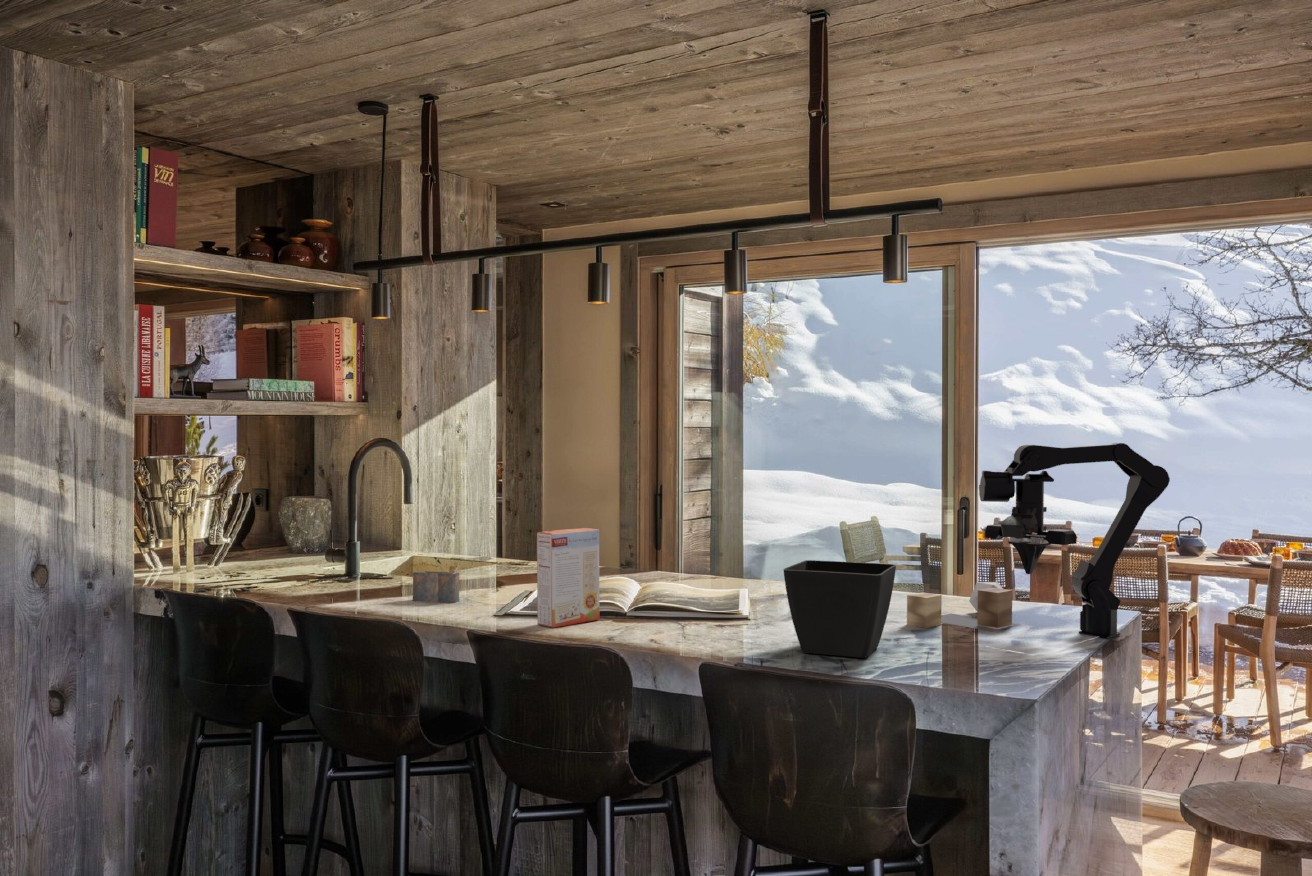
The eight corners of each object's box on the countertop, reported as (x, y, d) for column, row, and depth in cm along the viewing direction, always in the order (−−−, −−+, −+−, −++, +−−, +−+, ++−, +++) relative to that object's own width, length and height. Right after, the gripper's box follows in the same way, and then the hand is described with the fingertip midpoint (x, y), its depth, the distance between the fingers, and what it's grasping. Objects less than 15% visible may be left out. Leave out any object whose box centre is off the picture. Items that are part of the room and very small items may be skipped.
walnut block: (1011, 626, 225) (1012, 590, 225) (997, 629, 221) (998, 593, 221) (991, 622, 228) (991, 587, 228) (977, 625, 224) (977, 590, 224)
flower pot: (805, 637, 212) (806, 557, 212) (896, 645, 205) (897, 563, 204) (781, 655, 194) (781, 568, 194) (879, 665, 187) (880, 574, 187)
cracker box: (583, 617, 233) (584, 526, 233) (600, 620, 229) (601, 528, 228) (535, 624, 223) (535, 530, 223) (552, 628, 219) (552, 532, 219)
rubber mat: (1020, 626, 226) (1020, 624, 226) (992, 632, 218) (992, 631, 218) (950, 614, 240) (950, 613, 240) (921, 620, 232) (921, 619, 232)
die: (1002, 622, 234) (1020, 588, 237) (969, 603, 235) (987, 569, 238) (991, 628, 241) (1008, 595, 244) (959, 609, 243) (976, 576, 246)
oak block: (941, 626, 226) (941, 595, 226) (926, 629, 222) (926, 597, 222) (922, 622, 229) (922, 592, 229) (906, 626, 225) (907, 595, 225)
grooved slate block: (459, 602, 253) (460, 564, 253) (454, 604, 250) (455, 565, 250) (418, 600, 256) (418, 562, 256) (412, 602, 253) (413, 564, 253)
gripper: (971, 501, 220) (970, 572, 220) (1052, 506, 206) (1051, 582, 206) (997, 499, 227) (997, 568, 228) (1078, 504, 213) (1077, 577, 213)
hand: (1028, 574), depth 218 cm, fingers closed
